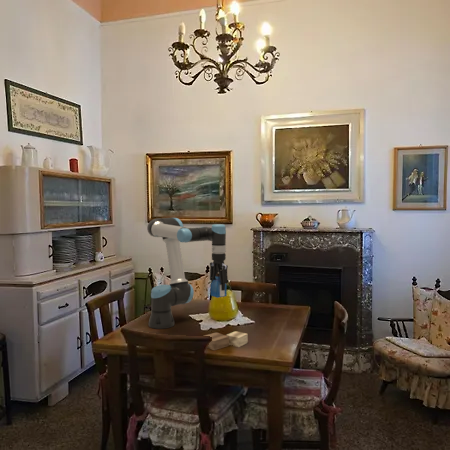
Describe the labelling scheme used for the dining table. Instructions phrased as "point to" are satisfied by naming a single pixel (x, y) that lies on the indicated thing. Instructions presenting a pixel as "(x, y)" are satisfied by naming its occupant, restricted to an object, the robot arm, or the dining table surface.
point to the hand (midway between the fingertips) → (218, 294)
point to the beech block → (237, 338)
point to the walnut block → (218, 341)
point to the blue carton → (216, 287)
